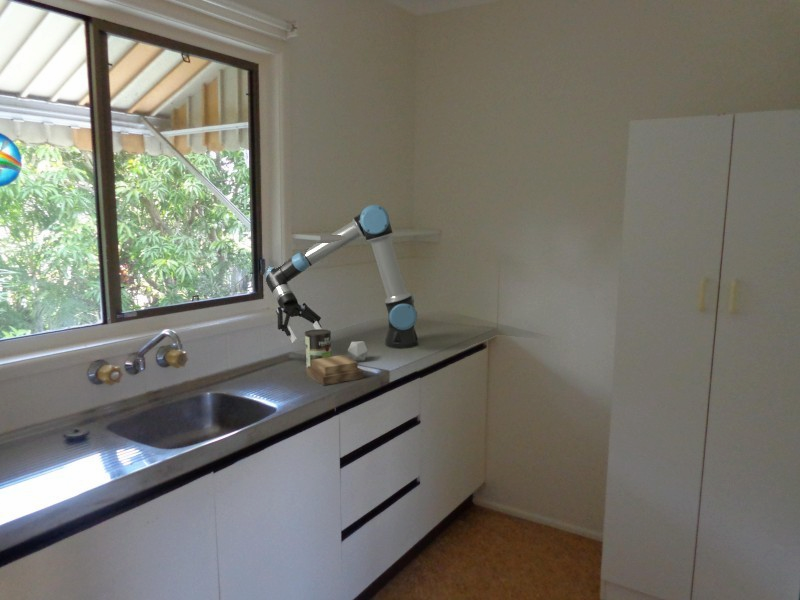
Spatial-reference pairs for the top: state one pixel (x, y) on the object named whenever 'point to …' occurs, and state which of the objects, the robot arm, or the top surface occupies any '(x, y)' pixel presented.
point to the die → (357, 351)
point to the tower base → (334, 377)
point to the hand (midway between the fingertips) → (308, 338)
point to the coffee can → (317, 345)
